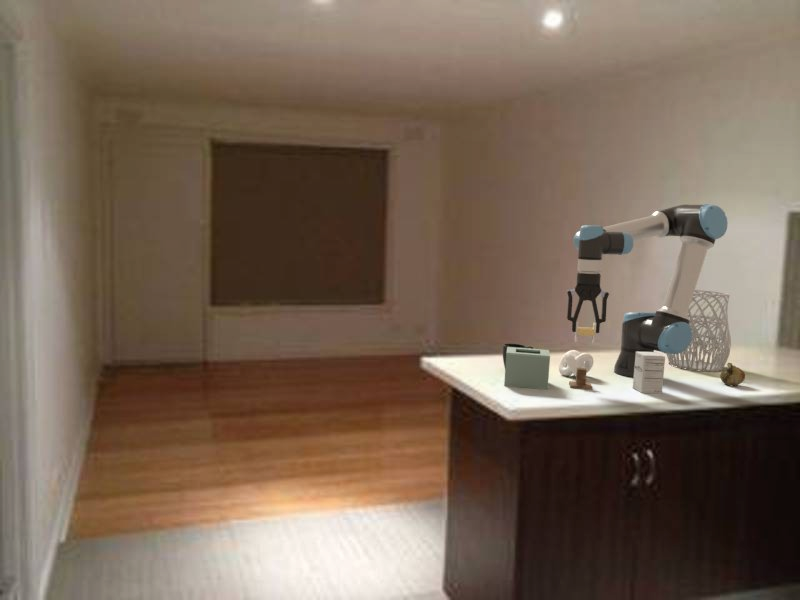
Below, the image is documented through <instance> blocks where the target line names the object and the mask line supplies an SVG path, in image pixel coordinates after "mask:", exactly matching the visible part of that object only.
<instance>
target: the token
mask: <svg viewBox="0 0 800 600" xmlns="http://www.w3.org/2000/svg"><path fill="white" fill-rule="evenodd" d="M578 336H594V329H593V326H592V327H591V326H590V327H589V326H578Z"/></svg>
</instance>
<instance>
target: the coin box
mask: <svg viewBox="0 0 800 600" xmlns="http://www.w3.org/2000/svg"><path fill="white" fill-rule="evenodd" d="M550 360H551V354H550V349H542V348H533V349H530V348H516V347H507V352H506V367H504V384H503V386H506V387H515V388H526V389H527V388H528V389H539V390H540V389H541V390H548V389H549V388H548V387H549V378H550V375H549V373H550V362H551V361H550Z"/></svg>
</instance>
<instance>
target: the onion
mask: <svg viewBox="0 0 800 600" xmlns="http://www.w3.org/2000/svg"><path fill="white" fill-rule="evenodd" d="M726 365H727V366H724V367H723V366H722V367H721V369H722V370H721V372H720V375H719V378H720V380H721V381H722V382H721V383H723V384H725V385H726V384H728V385H727V386H730V385H736V386H738V385H740V384H742V383H743V382H744V381H745V378H746V374H745V371H744V370H743V369H741V368H739V367H738V366H736V365H735V364H734V365H733V363H731V362H727V363H726Z"/></svg>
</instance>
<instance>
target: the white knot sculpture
mask: <svg viewBox="0 0 800 600" xmlns="http://www.w3.org/2000/svg"><path fill="white" fill-rule="evenodd" d="M593 366H594V357H593V356H592V355H591V354H590V353H587V352H583V353H581V352H580V351H578V350H577V349H576V350H575V349H570V350H568V351H567V352H565V353H564V354H563V355H562V356H561V358H560V360H559V362H558V372H559V373H560V375H562V376H564V377H569V376H571V375H574V376H575V377H576V371H577V368H586V370H587V372H586V374H587V373H589V372H590V371H591V370H592V368H593Z"/></svg>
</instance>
